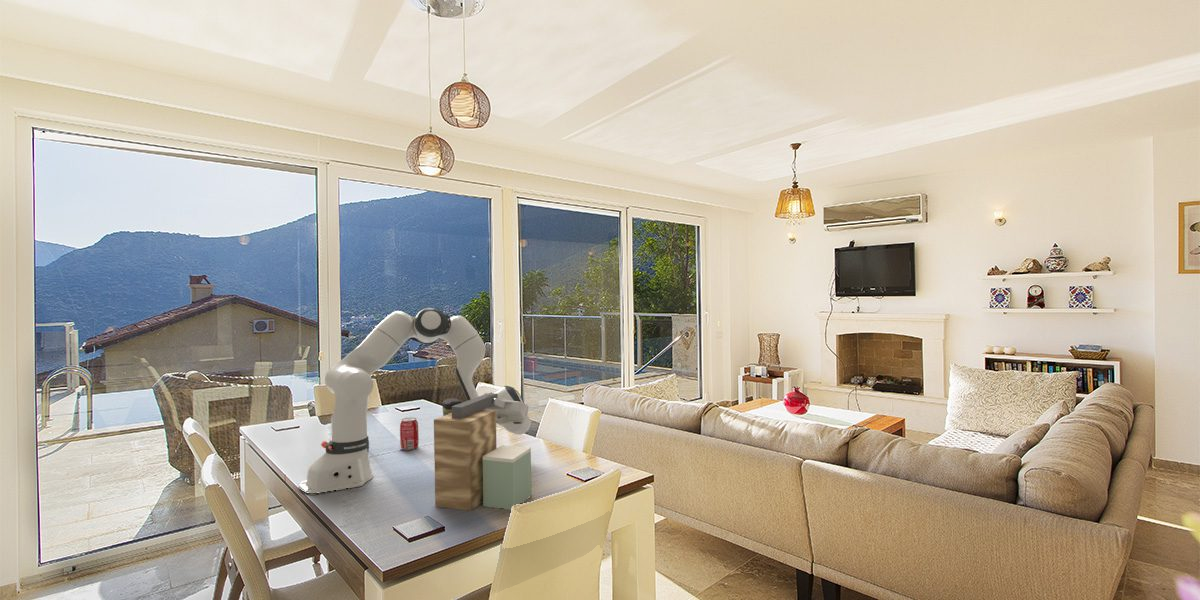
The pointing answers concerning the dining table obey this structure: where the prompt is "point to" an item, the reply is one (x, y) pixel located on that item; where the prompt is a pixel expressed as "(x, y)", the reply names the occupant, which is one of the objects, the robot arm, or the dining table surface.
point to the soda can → (409, 433)
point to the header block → (506, 476)
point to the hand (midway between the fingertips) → (487, 400)
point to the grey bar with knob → (473, 405)
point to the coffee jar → (449, 405)
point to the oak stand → (462, 458)
